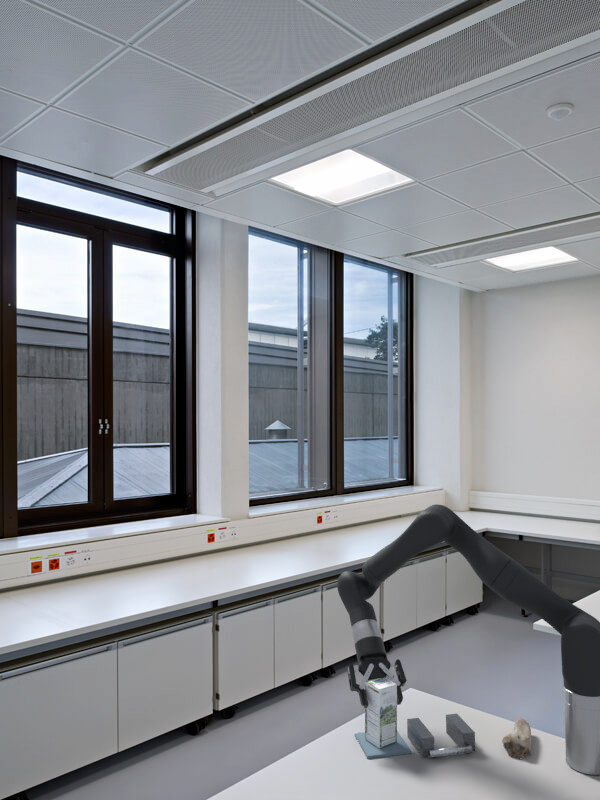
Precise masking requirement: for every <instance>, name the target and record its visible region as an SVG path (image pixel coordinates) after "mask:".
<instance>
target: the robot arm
mask: <svg viewBox="0 0 600 800" xmlns="http://www.w3.org/2000/svg"><path fill="white" fill-rule="evenodd" d="M444 542H445V543H446V544H447V545H449V546H450V547H451V548H453V549H455V550H456V551H457V552H458V553H459V554H461V555H462V556H463V557H464V559H465V560H466V561H467V563H469V566H470V567H471V569H472V571H474V573H475V574H476V575H477V577H478V578H479V580H480V581H481V582H482V583H484V585H485V586H486V587H488V588H489V589H490V590H491V591H493V592H494V593H495V594H497V595H498V596H499V597H501V598H502V599H503V600H505V601H507V602H508V603H509V604H511V605H513V606H516V607H517V608H520V609H522V610H523V611H527V612H529V613H531V614H533V615H534V616H537V617H538V618H540V619H542V620H543V621H544V622H546V623H547V624H548V625H549V626H551V627H552V629H554V630H555V631H556V632H557V633H559V635H561V636H560V652H561V654H560V655H561V674H562V678H563V702H564V703H563V707H564V709H563V710H564V739H565V740H564V742H565V761H566V764H567V765H568V766H569V767H570V768H571V769H573V770H575V771H576V772H580V773H582V774H587V775H590V776H591V775H593V776H598V775H599V776H600V621H599V619H597V618H596V617H595V616H593V615H591V614H590V613H588V612H587V611H584V610H583V609H582V608H580V607H579V606H577V605H575V604H573V603H571V602H570V601H568V600H567V599H565V598H563V596H561V595H560V594H558V593H556V592H555V591H554V590H553V589H552V588H550V587H549V586H548V585H547V584H546V583H545V582H543V581H542V580H541V579H540V578H538V577H536V576H535V575H534V574H533V573H531V572H530V571H529V569H527V568H525V566H523V565H522V564H520V563H519V562H518V561H516V560H515V559H513V558H512V557H511V556H509V555H508V554H506V553H505V552H504V551H502V550H501V549H500V548H498V547H497V546H496V545H494V544H493V543H491V542H490V541H489V540H487V539H486V538H485V537H483V536H482V535H480V534H479V532H477V531H475V530H474V529H473V528H472V527H471V526H470V525H468V523H466V522H465V521H464V520H463V519H462V518H461V517H460V516H458V515H457V513H455V512H454V511H453V510H452V509H450V508H449V507H448V506H446V505H443V504H432V505H429V506H427V507H426V508H425V509H424V510H422V511H421V512H420V513H418V514H417V516H416V517H415V519H413V520H412V522H411V523H410V525H409V526H408V527H406V529H405V530H404V531H403V532H402V533H401V534H400V536H398V537H397V538H396V539H395V540H393V541H392V542H390V543H389V544H387V545H386V546H384V547H383V548H381V549H380V550H379V551H377V552H376V553H374V554H373V555H372V556H371V557H370V558H368V559H367V560H366V561H365V562H364V563H363V565H362V567H361V569H362V573H358V572H354V571H351V570H346V571H343V572H342V573H340V575H339V576H338V579H337V583H336V584H337V586H336V587H337V593H338V595H339V597H340V598H339V599H340V600H341V602H342V604H343V606H344V608H345V610H346V612H347V613H348V616H349V621H350V625H351V632H352V633H351V634H352V642H353V644H354V645H353V646H354V648H355V649H354V650H355V654H356V658H357V662H358V664H353V663H349V665H348V667H347V676H348V677H347V678H348V684H349V690H350V691H351V692H356V693H358V697H359V702H360V705H361V706H362V707H363V709H365V708H367V707H368V700H367V695H366V690H365V685H366V684H365V682H367V681H370V680H373V679H377V678H387V679H389V680H391V681H392V682H394V683H395V684H396V685H397V706H398V705H399V706H400V705H401V704H402V702H403V700H404V695H403V692H402V689H401V688H402V687H404V686H405V684H406V683H407V677H406V673H405V671H404V667H403V665H402V662H401V660H400V659H396V660H395V661H389V660H388V656H387V653H386V648H385V644H384V640H383V639H384V638H383V635H382V632H381V628H380V627H379V624H378V623H379V622H378V619H377V616H376V613H375V608H374V606H373V604H371V603H370V602H369V601H367V600H369V599H371V598H372V597H373V596H374V595H375V594H376V592H377V590H378V589H379V588H380V587H381V585H382V583H383V582H384V581H386V580H387V579H389V578H390V577H392V576H393V574H395V573H396V572H398V570H400V569H401V568H402V567H403V566H404V565H405V564H406V563H408V561H410V560H411V559H412V558H414V557H415V556H417V555H419V554H421V553H422V552H424V551H426V550H428V549H431V548H433V547H435V546H437V545H440V544H442V543H444ZM390 668H391V669H392V670H393V672H395V674H396V677H395V675H394V673H393V672H391V671H390ZM357 672H359V673H360V674H361V675H362V679H361V681H360V683H359V684H358V683H357V678H356V674H357Z"/></svg>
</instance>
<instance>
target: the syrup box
mask: <svg viewBox="0 0 600 800" xmlns="http://www.w3.org/2000/svg"><path fill="white" fill-rule="evenodd" d="M365 684H366V685H365V687H364V690H366V695H367V700H368V707H367V708H364V732H365V739H366V740H367V741H369V742H370V743H372V744H373V745H375V746H376V747H378V748H383V747H385V746H388V745H390V744H393V743H396V742H397V731H398V705H397V685H396V684H395V683H394V682H392V681H391V680H389V679H387V678H377V679H373V680H370V681H367V682H365Z"/></svg>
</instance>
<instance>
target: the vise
mask: <svg viewBox="0 0 600 800" xmlns="http://www.w3.org/2000/svg"><path fill="white" fill-rule="evenodd" d="M406 720H407V721H406V725H407V726H406V730H407V739H408V740H409V741H410V743H411V744H412V745H413V747H414V749H415V750H416V751H417V752H418V754H419V755H420V756H421V758H423V759H424V758H438V757H439V758H440V757H445V756H454V755H462V754H469V753H470V754H471V753H473V752H476V732H475V731H474V729H472V727H470V725H468V723H466V721H465V720H463V719H462V717H461V716H460V715H459V714H458V713H452V714H451V713H449V714H445V732H446V734H447V735H448V736H449V738H451V740H452V741H453V742H454V744H455V745H456V746H450V747H440V748H435V736H434V735H433V734H432V732H431V731H430V730H429V729H428V728H427V726H426V725H425V724H424V723H423V722H422V721H421V719H420V718H419V717H413V718H412V717H411V718H407V719H406Z"/></svg>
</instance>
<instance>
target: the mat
mask: <svg viewBox="0 0 600 800" xmlns="http://www.w3.org/2000/svg"><path fill="white" fill-rule="evenodd" d="M354 737H356V738H355V740H356V741H357V740H358V741H357V742H359V743H358V744H360V745H359V746H360V749H361V750H362V752H363V753H364V755H365V757H366V758H367V759H369V760H370V759H375V758H377V759H378V758H384V757H385V758H386V757H393V756H399V755H400V756H401V755H408V754H409V755H410V754H412V749H411V748H410V746H409V745H408V744H407V743H406V741H405V740H404V738H403V737H402V735H401V734H400V733H399V731H398V730H397V742H396V743H393V744H390V745H388V746H385V747H383V748H378V747H376V746H375V745H373V744H372V743H370V742H369V741H367V740H366V739H365V731H364V732H358V733H357V732H355V733H354Z"/></svg>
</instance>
